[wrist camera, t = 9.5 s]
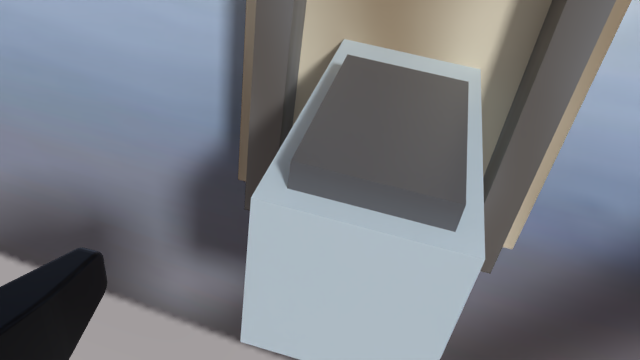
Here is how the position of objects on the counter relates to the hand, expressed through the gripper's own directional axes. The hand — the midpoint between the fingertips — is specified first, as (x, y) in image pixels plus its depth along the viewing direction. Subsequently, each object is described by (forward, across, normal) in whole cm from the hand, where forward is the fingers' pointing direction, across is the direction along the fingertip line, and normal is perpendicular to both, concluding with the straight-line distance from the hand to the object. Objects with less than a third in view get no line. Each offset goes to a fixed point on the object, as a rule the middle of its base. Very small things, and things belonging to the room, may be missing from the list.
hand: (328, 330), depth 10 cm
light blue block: (+8, 0, 0) cm, 9 cm away
